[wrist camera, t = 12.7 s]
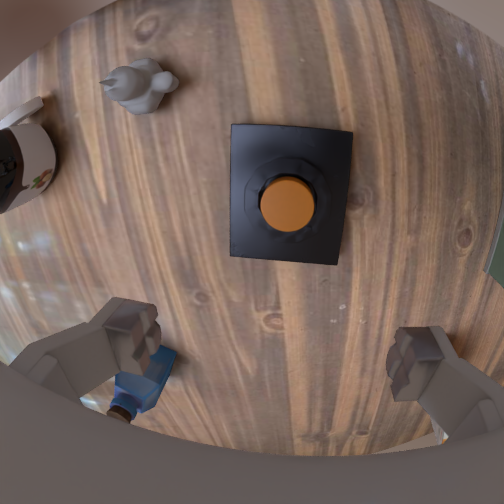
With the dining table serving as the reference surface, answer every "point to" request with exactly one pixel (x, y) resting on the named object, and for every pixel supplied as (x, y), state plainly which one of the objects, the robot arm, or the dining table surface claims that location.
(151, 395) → the perfume bottle
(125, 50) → the dining table surface
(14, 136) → the spread jar
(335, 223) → the button block
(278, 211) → the button
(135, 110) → the grey rounded figurine
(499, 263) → the toaster
